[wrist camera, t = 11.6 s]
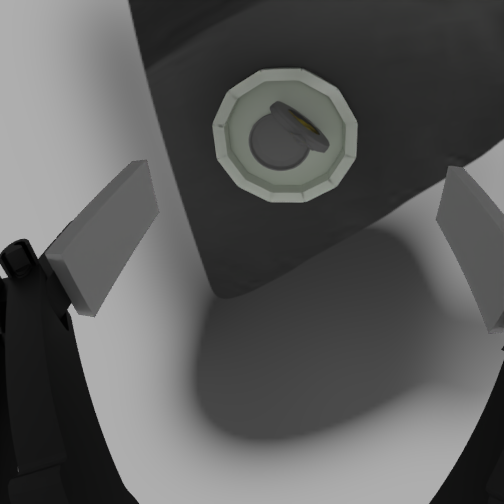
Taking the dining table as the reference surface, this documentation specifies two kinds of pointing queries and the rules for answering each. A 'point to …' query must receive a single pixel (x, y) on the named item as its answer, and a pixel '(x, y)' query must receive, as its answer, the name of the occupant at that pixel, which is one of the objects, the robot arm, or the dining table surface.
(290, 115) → the pocket watch
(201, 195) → the dining table surface
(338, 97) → the dish
